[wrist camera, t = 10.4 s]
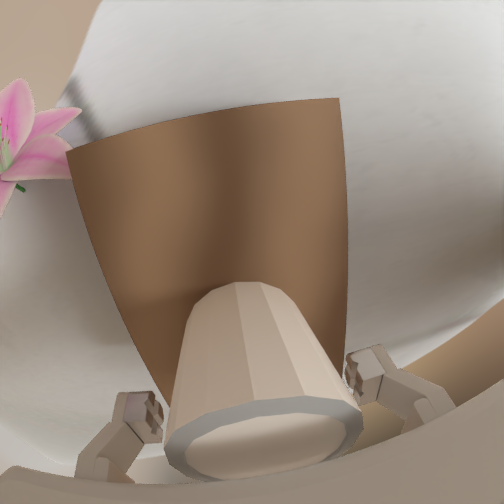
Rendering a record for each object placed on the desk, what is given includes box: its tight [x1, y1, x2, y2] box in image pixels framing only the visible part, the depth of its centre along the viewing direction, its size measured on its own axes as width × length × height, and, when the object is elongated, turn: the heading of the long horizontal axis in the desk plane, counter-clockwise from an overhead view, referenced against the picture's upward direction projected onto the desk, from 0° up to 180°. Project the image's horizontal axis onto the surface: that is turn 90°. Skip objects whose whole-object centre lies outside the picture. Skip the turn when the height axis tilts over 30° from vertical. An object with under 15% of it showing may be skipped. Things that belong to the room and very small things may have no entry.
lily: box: [0, 78, 82, 218], centre depth 14 cm, size 12×12×10 cm
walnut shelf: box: [65, 98, 348, 407], centre depth 18 cm, size 11×18×9 cm, turn 8°
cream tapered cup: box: [164, 282, 364, 482], centre depth 12 cm, size 7×7×7 cm
